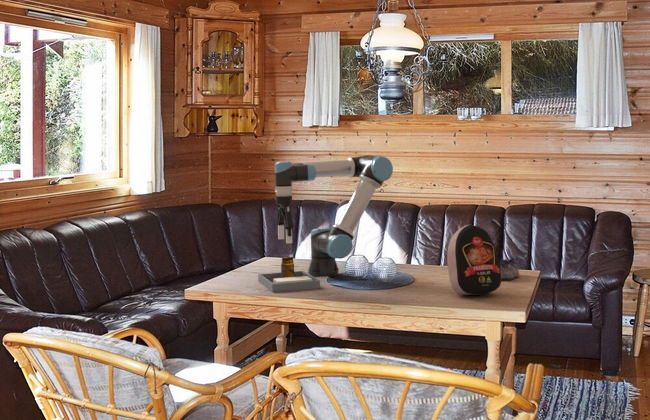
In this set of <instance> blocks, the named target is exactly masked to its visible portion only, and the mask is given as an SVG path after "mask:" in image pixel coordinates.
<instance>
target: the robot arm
mask: <svg viewBox="0 0 650 420" xmlns="http://www.w3.org/2000/svg"><path fill="white" fill-rule="evenodd" d="M393 172H394V167H393V163H392V162H391V160H390V159H389V158H388V157H386V156H382V155H373V154H372V155H371V154H367V155H362V156H361V155H360V156H355V157H352V156H351V157H348V158H346V159H342V160H338V159H337V160H328V161H326V160H324V161H313V162H311V161H310V162H298V163H297V162H296V163H292V162H291V161H277V162H276V163H275V164H274V181H275V188H274V192H275V195H276V196H275V204H276V205H277V213H276V221H275V223H276V224H277V236H278V237H277V239H278V240H285V243H286V244H293V228H294V223H293V216H292V207H291V206H289V205H291V204H293V196H292V194H293V186H292V184H293V183H294V182H310V181H314V180H315V179H317V178H330V177H331V178H332V177H340V176H341V177H344V176H348V177H349V178H359V183H358V185H357V186H356V187H355V190H354V192H353V194H352V196H351V197H350V200H349V201H348V203H347V205H346V207H345V209H344V210H343V212H342V215H341V216H340V218H339V220H338V221H337V223H336V224H333V225H332V226H331V227H324V228H322V227H321V228H313V229H312V230H311V232H310V252H311V253H310V254H311V259H310V263H309V266H308V269H307V273H308V274H310V275H311V276H313V277H315V278H320V277H321V278H322V277H324V278H325V277H328V278H332V277H333V276H334V277H337V275H338V276H339V275H340V269H339V267H338V263H337V261H336V259H345V258H346V257H348V256H349V255H350V254H351V253H352V250H353V247H354V245H353V240H354V237H355V236H354V235H355V234H354V232H355V229H356V228H357V226H358V224H359V222H360V220H361V219H362V216H363V214H364V213H365V211H366V209H367V207H368V205H369V203H370V201H371V200H372V197H373V196H374V194H375V192H376V190H377V189H381V187H382V185H383V184H384V182H385V181H387V180H389V179H390V178H391V177H392V175H393ZM334 277H333V278H334Z"/></svg>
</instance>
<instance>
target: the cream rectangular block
mask: <svg viewBox="0 0 650 420" xmlns="http://www.w3.org/2000/svg"><path fill="white" fill-rule="evenodd" d="M302 281H312V279H311V278H309V277H308V276H302V277H288V278H275V279H273V283H274V284H277V283H290V282H302Z"/></svg>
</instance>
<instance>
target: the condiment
mask: <svg viewBox="0 0 650 420" xmlns="http://www.w3.org/2000/svg"><path fill="white" fill-rule="evenodd" d="M280 270H281V271H280V272H281V278H288V277H294V271H295V262H294V257H293V256H289V255H288V256H283V257H282V258H281V264H280Z"/></svg>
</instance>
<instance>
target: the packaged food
mask: <svg viewBox="0 0 650 420" xmlns="http://www.w3.org/2000/svg"><path fill="white" fill-rule="evenodd" d="M446 255H447V257H446V258H447V261H446V262H447V270H448V271H447V272H448V277H449V283H450V287H451V288H452V290H453V292H454V293H455V294H456V295H459V296H472V295H473V296H475V295H477V296H478V295H480V296H481V295H487V294H489V293H493V292H495V291H496V290H498V289H499V288H500V286H501V284H502V280H501V271H500V264H499V262H500V260H499V257H498V253H497V250H496V247H495V244H494V241H493V240H492V238H491V236H490V234H489V233H488V232H487V231H486V230H485V229H483V228H482V227H481V226H480V227H479V226H478V225H474V224H473V225H472V224H465V225H463V226H462V227H460V228H459V229H458V230H457V231H456V232H455V233H454V234H453V235H452V237H451V238H450V239H449V243H448V247H447V254H446Z"/></svg>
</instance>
